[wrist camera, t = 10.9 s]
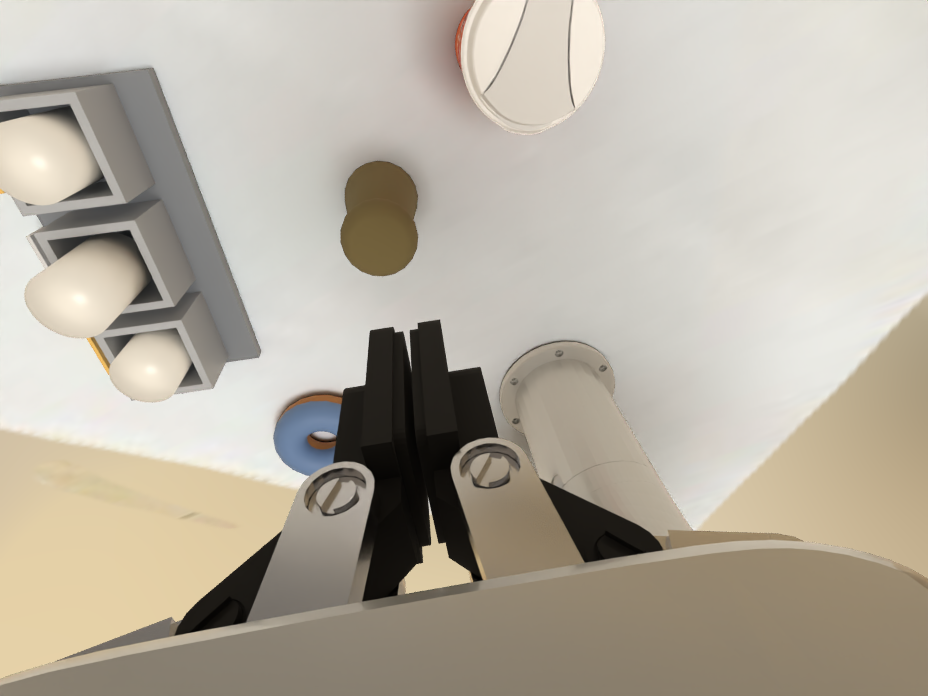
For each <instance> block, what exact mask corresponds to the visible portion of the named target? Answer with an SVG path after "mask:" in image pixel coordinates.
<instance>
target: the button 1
mask: <svg viewBox="0 0 928 696" xmlns="http://www.w3.org/2000/svg"><path fill="white" fill-rule="evenodd" d="M102 178H104V175H103V173H102V171H101V168H100V166H99V164H98V162H97V160H96V158H95V156H94V154H93V152H92V150H91V147H90V145H89V143H88V141H87V139H86V137H85V135H84V133H83V131H82V129H81V127H80V124H79V122H78V120H77V118H76V116H75V114H74V112H73V110H72V108H71V106H65V107H60V108H56V109H53V110H49V111H45V112H41V113H37V114H33V115H29V116H25V117H21V118H17V119H13V120H9V121H5V122H1V123H0V189H2V190H3V191H4V192H6V193H7V194H9V195H10V196H12V197H14V198H16V199H18V200H20V201H23V202H25V203H29V204H34V205H51V204H55V203H58V202H59V201H61V200H63V199H65V198H67V197H69V196H71V195H72V194H74V193H76V192H78V191H80V190H82V189H84V188H85V187H87V186H89V185H91V184H93V183H95V182H97V181H99V180H100V179H102Z"/></svg>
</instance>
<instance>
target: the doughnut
mask: <svg viewBox="0 0 928 696" xmlns="http://www.w3.org/2000/svg"><path fill="white" fill-rule="evenodd" d="M341 403H342V398H341V397H337V396H332V395H314V396H310V397H307V398H303V399H300V400H299V401H297V402H296V403H294V404H292V405H291V406H289V407H288V408H287V409H286V410H285V411H284V413H283V414H282V415H281V417H280V418H279V420H278V422H277V424H276V428H275V432H274V438H273V439H274V444H275V449H276V452H277V453H278V455H279V456H280V458H281V459H282V461H283V462H284V463H285V464H286V465H288V466H289V467H290V468H292V469H293V470H295V471H297V472H300V473H302V474H304V475H307V476H310V475H312V474H313V473H315V472H316V471H318V470H319V469H321V468H323V467H325V466H328V465H331V464H333V459H334V452H335V445H336V441H333V442H327V443H324V442H319V441H316V440H314V439H313V438H312V437H310V435H309V434H311V433H314V432H317V431H325V432H330V433H332V434H334V435H336V436H337V431H338V424H339V417H340V410H341Z"/></svg>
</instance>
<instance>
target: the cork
mask: <svg viewBox="0 0 928 696" xmlns="http://www.w3.org/2000/svg"><path fill="white" fill-rule="evenodd" d="M417 200H418V195H417V191H416V187H415V184H414V182H413V181H412V179H411V177H410V176H409V175H408V174H407V173H406V172H405V171H404V170H403V169H402V168H401V167H399V166H396V165H394V164H392V163H390V162H383V161H375V162H370V163H366V164H364V165H362V166H361V167H359V168H358V169H356V170H355V171H354V173H353V174H352V175H351V176H350V178H349V179H348V182H347V185H346V188H345V204H346V209H347V215H346V216H345V219H344V222H343V224H342V227H341V245H342V248H343V251H344V253H345V255H346V257H347V258H348V260H349V261H350V262H351V264H352V265H353V266H355V267H356V268H357V269H359V270H360V271H362V272H364V273H367V274H370V275H373V276H387V275H391V274H395V273H397V272H398V271H400V270H402V269H404V268H405V267H406V266H407V264H408V263H409V262H410V261H411V260H412V258H413V256H414V254H415V252H416V249H417V243H418V234H417V230H416V226H415V222H414V221H413V219H414V215H415V212H416V209H417Z"/></svg>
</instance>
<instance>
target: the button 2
mask: <svg viewBox="0 0 928 696" xmlns="http://www.w3.org/2000/svg"><path fill="white" fill-rule="evenodd" d="M191 364H192V359H191V357H190V355H189V353H188V351H187V349H186V347H185V345H184V343H183V341H182V338H181V336H180V334H179V332H178V330H177V328H170V329H163V330H156V331H149V332H142V333H136V334H135V335H134V336H133V337H132V338H131V340H130V341H129V342H128V343H127V344H126V346H125V347H124V348H123V349H122V351H121V352H120V353H119V354H118V355H117V357H116V358H115V359H114V360H113V362H112V363H111V365H110V368H109V376H110V379H111V381H112V383H113V384H114V386H115V387H116V388H117V389H118V390H119V391H120V392H121V393H123V394H124V395H126V396H128V397H130V398H132V399H134V400H138V401H142V402H160V401H164V400H166V399H168V398H170V397H171V396H172V395H173V394H174V393H175V392H176V390H177V388H178V386H179V385H180V383H181V381H182V380H183V378H184V376H185V374H186V373H187V371H188V369H189V368H190V366H191Z"/></svg>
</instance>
